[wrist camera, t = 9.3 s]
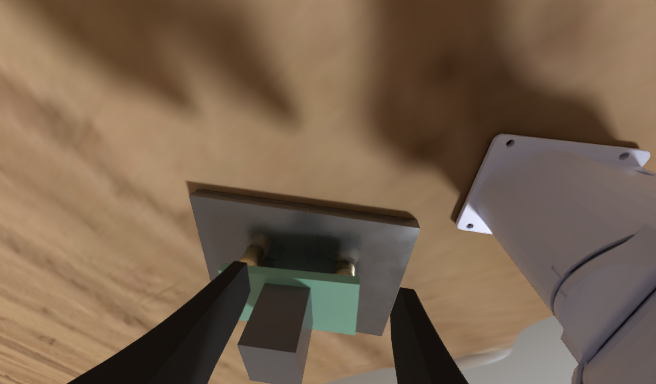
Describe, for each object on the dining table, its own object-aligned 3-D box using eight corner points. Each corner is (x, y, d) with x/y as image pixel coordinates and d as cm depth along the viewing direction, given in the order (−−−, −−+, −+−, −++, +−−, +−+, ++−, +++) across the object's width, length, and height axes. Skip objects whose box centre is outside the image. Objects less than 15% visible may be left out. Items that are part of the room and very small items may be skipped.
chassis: (417, 219, 20) (427, 250, 17) (380, 326, 28) (383, 360, 25) (197, 188, 21) (168, 211, 18) (222, 298, 29) (205, 327, 26)
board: (359, 276, 19) (358, 353, 14) (355, 326, 23) (353, 402, 18) (222, 263, 20) (177, 328, 15) (238, 311, 24) (205, 378, 19)
